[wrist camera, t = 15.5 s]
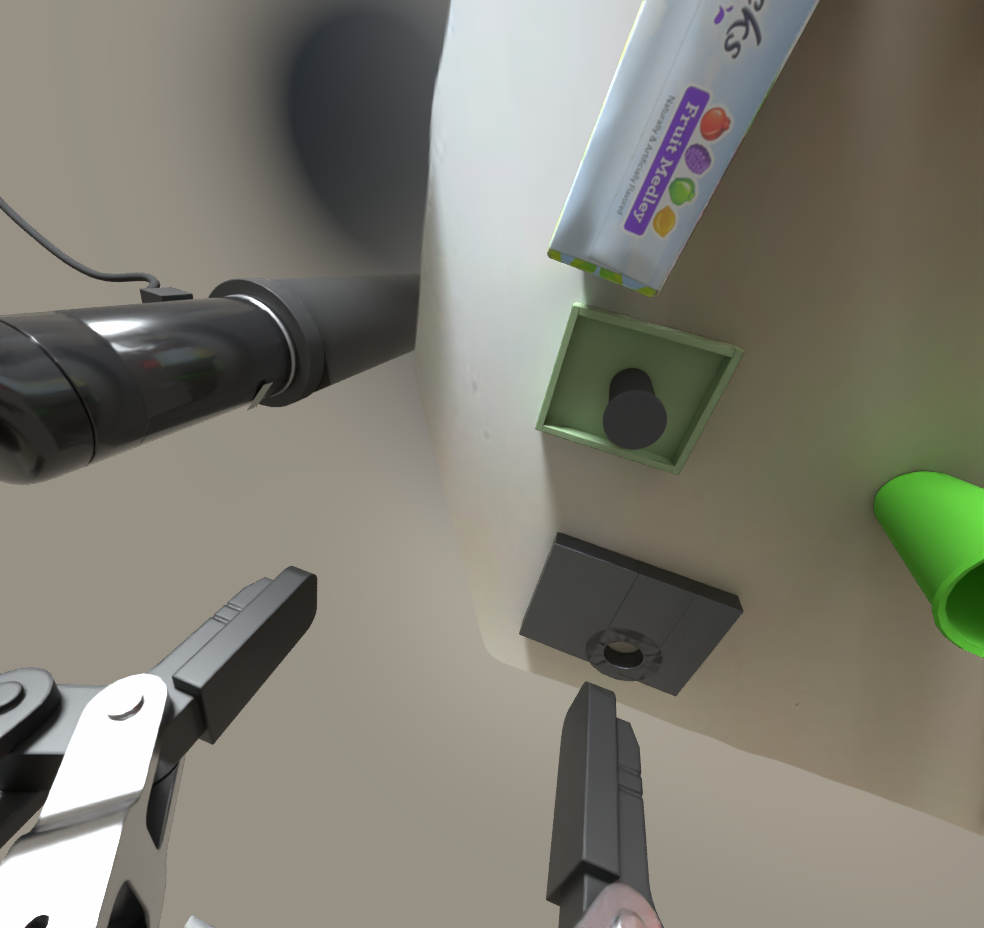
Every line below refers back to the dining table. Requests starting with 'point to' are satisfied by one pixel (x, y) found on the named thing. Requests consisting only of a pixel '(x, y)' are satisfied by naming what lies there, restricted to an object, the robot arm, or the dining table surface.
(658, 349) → the dish
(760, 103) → the snack box
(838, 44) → the dining table surface
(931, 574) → the cup
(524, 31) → the dining table surface
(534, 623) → the plate
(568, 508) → the dining table surface
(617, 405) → the plug
